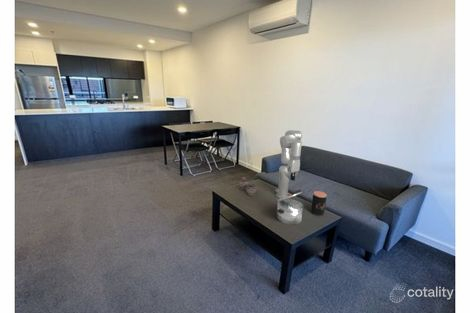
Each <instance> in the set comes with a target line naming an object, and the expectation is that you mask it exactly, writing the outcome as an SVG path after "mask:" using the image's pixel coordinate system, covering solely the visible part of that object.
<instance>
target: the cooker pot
mask: <svg viewBox="0 0 470 313" xmlns="http://www.w3.org/2000/svg"><path fill="white" fill-rule="evenodd" d="M276 204H277V208H276V218H277V220H278V221H279V222H281V223H283V224H286V225H293V226H294V225H299V224H300V223H301V222H302V220H303V212H304V211H303V210H304V204H303V203H302V202H300V201H298V200H296V199H292V198H287V199H284V200H281V201H277V203H276Z"/></svg>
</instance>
